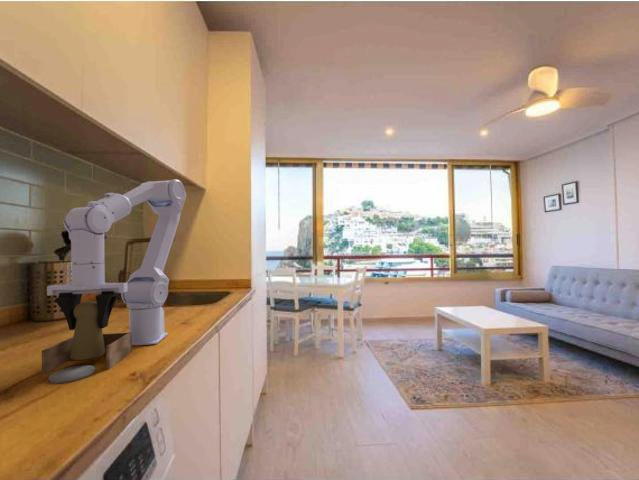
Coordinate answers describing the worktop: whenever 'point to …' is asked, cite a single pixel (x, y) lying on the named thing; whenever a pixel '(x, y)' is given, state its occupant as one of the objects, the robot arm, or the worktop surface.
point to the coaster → (71, 374)
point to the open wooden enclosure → (114, 348)
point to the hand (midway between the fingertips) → (88, 328)
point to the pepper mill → (87, 332)
